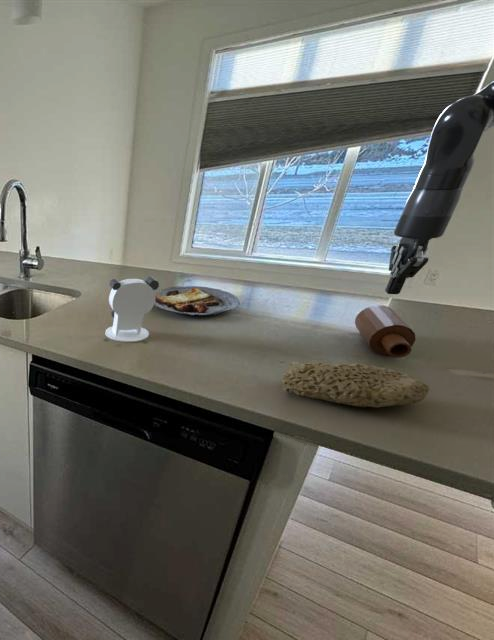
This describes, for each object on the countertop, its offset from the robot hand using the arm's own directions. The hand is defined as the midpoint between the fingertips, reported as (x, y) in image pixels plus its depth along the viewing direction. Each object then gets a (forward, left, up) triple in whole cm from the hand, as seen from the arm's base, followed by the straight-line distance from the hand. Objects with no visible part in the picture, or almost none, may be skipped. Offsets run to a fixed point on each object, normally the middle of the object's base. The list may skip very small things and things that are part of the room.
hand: (391, 293), depth 92 cm
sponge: (+12, +33, -11) cm, 37 cm away
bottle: (0, -2, -7) cm, 8 cm away
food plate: (+40, -14, -11) cm, 44 cm away
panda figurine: (+55, +12, -11) cm, 58 cm away
